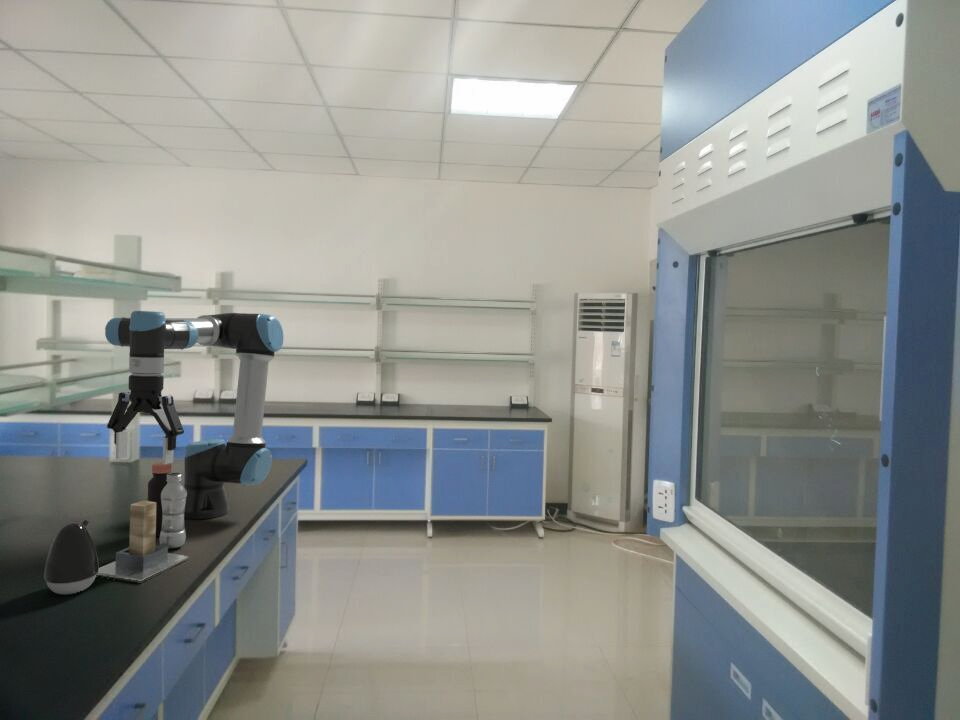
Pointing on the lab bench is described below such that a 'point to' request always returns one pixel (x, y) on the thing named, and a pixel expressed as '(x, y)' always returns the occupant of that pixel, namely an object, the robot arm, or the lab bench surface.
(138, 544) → the beech rail
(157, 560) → the grey socket base
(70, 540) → the dark grey egg shape
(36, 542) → the lab bench surface
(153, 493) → the vinegar
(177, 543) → the plastic bottle
